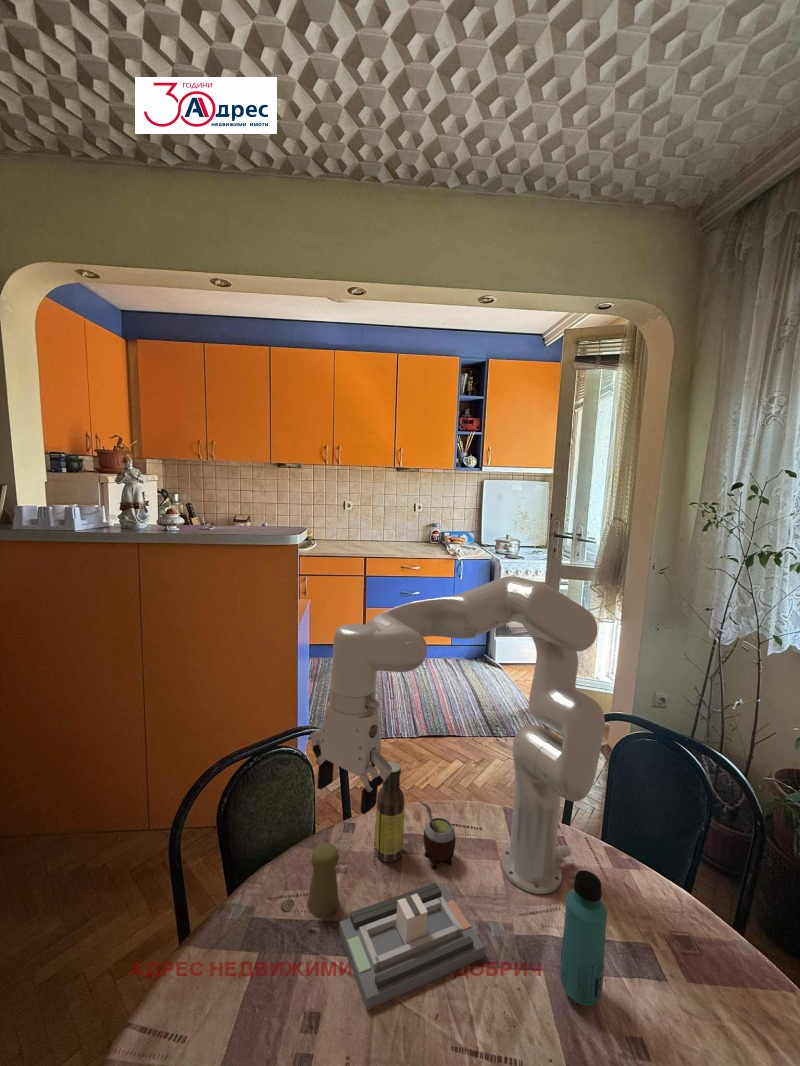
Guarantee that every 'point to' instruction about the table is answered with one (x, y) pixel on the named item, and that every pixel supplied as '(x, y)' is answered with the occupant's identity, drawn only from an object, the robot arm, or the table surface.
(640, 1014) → the table surface
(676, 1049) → the table surface
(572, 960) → the beverage bottle
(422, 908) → the toggle
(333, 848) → the olive brown pawn
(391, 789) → the sauce bottle
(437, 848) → the mate gourd
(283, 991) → the table surface
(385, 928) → the panel
